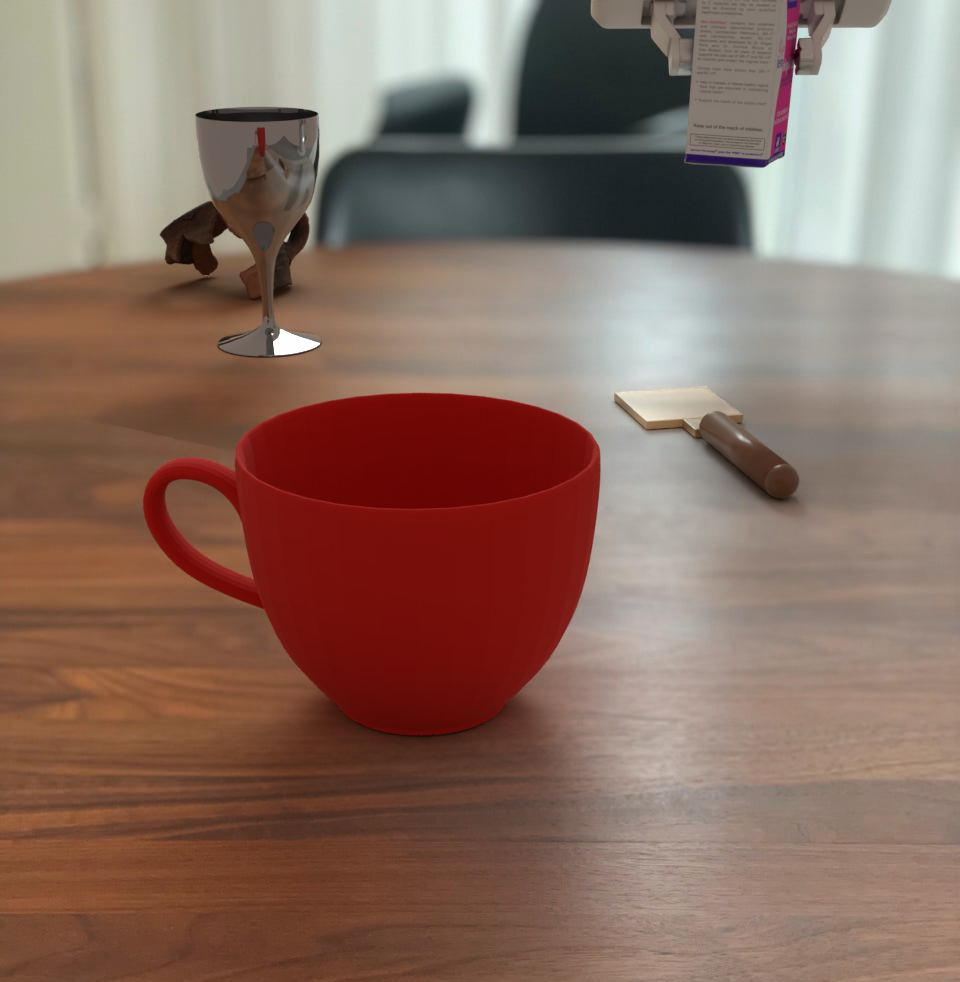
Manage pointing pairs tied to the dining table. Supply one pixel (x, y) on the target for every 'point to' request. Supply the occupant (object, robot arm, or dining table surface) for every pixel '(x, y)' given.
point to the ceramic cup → (406, 547)
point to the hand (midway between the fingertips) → (746, 69)
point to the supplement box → (741, 81)
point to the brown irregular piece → (204, 223)
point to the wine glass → (261, 199)
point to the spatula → (712, 431)
